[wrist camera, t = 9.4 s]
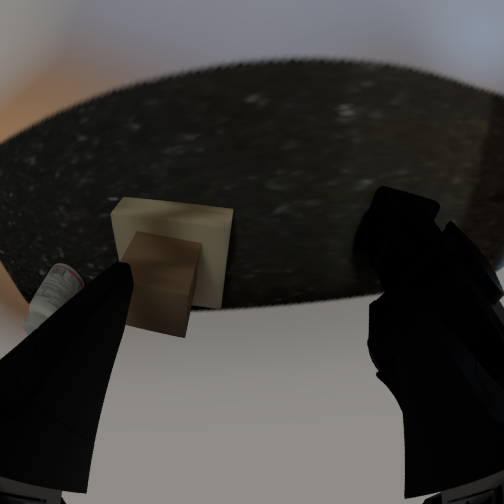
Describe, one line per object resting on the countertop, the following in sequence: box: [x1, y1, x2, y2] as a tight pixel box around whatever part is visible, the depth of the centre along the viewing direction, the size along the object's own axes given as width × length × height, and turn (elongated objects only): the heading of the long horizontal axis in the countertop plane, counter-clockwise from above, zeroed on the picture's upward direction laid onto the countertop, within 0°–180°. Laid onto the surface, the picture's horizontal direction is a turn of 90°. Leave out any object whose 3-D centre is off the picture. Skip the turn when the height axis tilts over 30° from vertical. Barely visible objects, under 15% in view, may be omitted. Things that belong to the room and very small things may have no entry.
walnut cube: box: [120, 231, 201, 338], centre depth 19 cm, size 5×5×5 cm
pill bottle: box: [23, 263, 84, 335], centre depth 23 cm, size 5×5×8 cm
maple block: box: [111, 197, 233, 309], centre depth 23 cm, size 9×9×3 cm
